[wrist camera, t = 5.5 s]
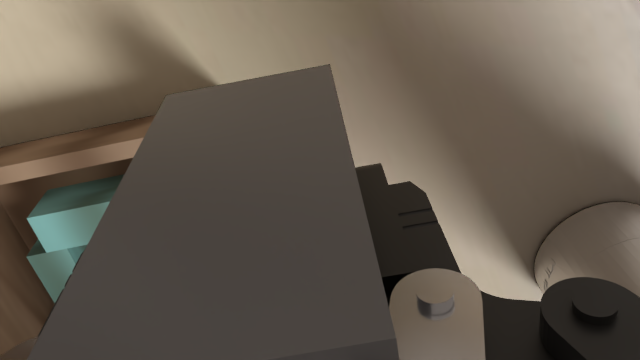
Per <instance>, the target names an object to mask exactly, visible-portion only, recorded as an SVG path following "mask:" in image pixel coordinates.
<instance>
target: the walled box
mask: <svg viewBox="0 0 640 360" xmlns="http://www.w3.org/2000/svg"><path fill="white" fill-rule="evenodd" d="M155 116H156V115H153V116H149V117H144V118H139V119H134V120H130V121H125V122H120V123H115V124H111V125H106V126H101V127H96V128H91V129H87V130H82V131H77V132H72V133H68V134H63V135H58V136H53V137H48V138H44V139H39V140H34V141H29V142H25V143H20V144H15V145H10V146H5V147H1V148H0V357H1V356H2V355H3V354H4V353H6V352H7V351H8V350H10V349H11V348H13V347H15V346H16V345H18V344H20V343H22V342H24V341H27V340H29V339H32V338H35V337H37V336H38V334H39V333H40V331H41V329H42V327H43V325H44V323H45V321H46V319H47V318H48V316H49V314H50V312H51V310H52V308H53V306H54V304H55V302H56V301H57V299H58V297H59V295H60V293H61V291H62V289H64V288H65V286H64V285H65V284H66V282H67V280H68V278H69V276H70V275H71V274H72V273H73V272H72V270H73V269H74V267H75V265H76V263H77V261H78V259H79V257H80V255H81V254H82V253H83V252H84V250H85V249H86V247H87V245H88V243H89V241H90V239H91V237H92V235H93V233H94V231H95V230H96V228H97V226H98V224H99V222H100V220H101V218H102V216H103V214H104V212H105V211H106V209H107V207H108V205H109V203H110V201H111V199H112V197H113V195H114V193H115V192H116V190H117V188H118V186H119V184H120V182H121V180H122V178H123V176H124V174H125V173H126V171H127V169H128V167H129V165H130V163H131V161H132V159H133V157H134V155H135V154H136V152H137V150H138V148H139V146H140V144H141V142H142V140H143V138H144V136H145V135H146V133H147V131H148V129H149V127H150V125H151V123H152V121H153V119H154V117H155Z"/></svg>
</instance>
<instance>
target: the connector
mask: <svg viewBox="0 0 640 360" xmlns="http://www.w3.org/2000/svg"><path fill="white" fill-rule="evenodd" d="M27 360H399V354H398V347H397V340H396V335H395V331H394V327H393V323H392V319H391V314H390V310H389V306H388V302H387V298H386V294H385V290H384V286H383V281H382V277H381V273H380V269H379V265H378V261H377V257H376V253H375V248H374V244H373V240H372V236H371V232H370V228H369V224H368V220H367V216H366V211H365V207H364V203H363V199H362V195H361V191H360V187H359V183H358V178H357V174H356V170H355V166H354V162H353V158H352V154H351V150H350V145H349V141H348V137H347V133H346V129H345V125H344V121H343V117H342V113H341V108H340V104H339V100H338V96H337V92H336V88H335V84H334V80H333V75H332V71H331V67H330V64H328V65H323V66H317V67H312V68H307V69H301V70H296V71H291V72H286V73H280V74H275V75H270V76H264V77H259V78H254V79H249V80H243V81H238V82H233V83H227V84H222V85H217V86H212V87H206V88H201V89H196V90H190V91H185V92H180V93H175V94H169V95H166V97H165V98H164V100H163V102H162V104H161V106H160V108H159V110H158V112H157V114H156V116H155V117H154V119H153V121H152V123H151V125H150V127H149V129H148V131H147V133H146V135H145V136H144V138H143V140H142V142H141V144H140V146H139V148H138V150H137V152H136V154H135V155H134V157H133V159H132V161H131V163H130V165H129V167H128V169H127V171H126V173H125V174H124V176H123V178H122V180H121V182H120V184H119V186H118V188H117V190H116V192H115V193H114V195H113V197H112V199H111V201H110V203H109V205H108V207H107V209H106V211H105V212H104V214H103V216H102V218H101V220H100V222H99V224H98V226H97V228H96V230H95V231H94V233H93V235H92V237H91V239H90V241H89V243H88V245H87V247H86V249H85V250H84V252H83V254H82V256H81V258H80V260H79V262H78V264H77V266H76V268H75V269H74V271H73V273H72V275H71V277H70V279H69V281H68V283H67V285H66V287H65V288H64V290H63V292H62V294H61V296H60V298H59V300H58V302H57V304H56V306H55V307H54V309H53V311H52V313H51V315H50V317H49V319H48V321H47V323H46V325H45V326H44V328H43V330H42V332H41V334H40V336H39V338H38V340H37V342H36V344H35V345H34V347H33V349H32V351H31V353H30V355H29V357H28V359H27Z"/></svg>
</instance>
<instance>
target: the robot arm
mask: <svg viewBox="0 0 640 360" xmlns="http://www.w3.org/2000/svg"><path fill="white" fill-rule="evenodd" d="M355 170H356V174H357V178H358V183H359V187H360V191H361V195H362V199H363V203H364V207H365V211H366V216H367V220H368V224H369V228H370V232H371V236H372V240H373V244H374V248H375V253H376V257H377V261H378V265H379V269H380V273H381V277H382V281H383V286H384V290H385V294H386V298H387V302H388V306H389V310H390V314H391V319H392V323H393V327H394V331H395V335H396V340H397V347H398V354H399V360H640V205H638V204H633V203H627V202H610V203H605V204H599V205H595V206H593V207H590V208H587V209H584V210H582V211H580V212H578V213H576V214H574V215H572V216H571V217H569V218H567V219H566V220H565V221H563V222H562V223H561V224H559V225H558V226H557V227H556V228H555V229H554V230H553V231H552V232H551V233H550V234H549V235H548V236H547V238H546V239H545V241H544V242H543V244H542V245H541V247H540V249H539V251H538V254H537V256H536V259H535V266H534V272H535V279H536V281H537V283H538V285H539V287H540V289H541V291H542V292H543V297H542V299H541V302H539V301H526V300H512V299H504V298H500V297H495V296H492V295H489V294H486V293H484V292H482V291H480V290H479V288H478V287H477V285H476V284H475V283H474V282H473V281H472V280H471V279H469V278H468V277H466V276H465V275H463V274H461V272H460V270H459V268H458V265H457V263H456V261H455V258H454V256H453V254H452V252H451V249H450V247H449V245H448V243H447V240H446V238H445V236H444V234H443V231H442V229H441V227H440V225H439V224H438V220H437V218H436V216H435V213H434V211H433V210H432V206H431V204H430V202H429V200H428V197H427V195H426V193H425V192H424V191H422V190H421V189H420V188H418V187H417V186H415V185H414V184H413V183H411V182H410V181H409V182H403V183H398V184H392V185H388V183H387V180H386V177H385V174H384V171H383V168H382V165H381V163H379V164H373V165H368V166H362V167H357V168H355ZM82 254H83V253H82ZM82 254H81V255H80V257H79V259H78V261H77V263H76V265H75V267H74V269H75V268H76V266H77V264H78V262H79V260H80V258H81V256H82ZM74 269H73V270H72V272H73V271H74ZM71 275H72V274H71ZM71 275H70V276H69V278H68V280H67V282H66V284H65V285H64V286H65V287H66V285H67V283H68V281H69V279H70V277H71ZM63 290H64V289H62V291H61V293H60V295H59V297H58V299H57V301H56V302H55V304H54V306H53V308H52V310H51V312H50V314H49V316H48V318H47V319H46V321H45V323H44V325H43V327H42V329H41V331H40V333H39V334H38V336H37V337H35V338H32V339H29V340H27V341H24V342H22V343H20V344H18V345H16V346H15V347H13V348H11V349H10V350H8V351H7V352H6V353H4V354H3V355H2V356H1V357H0V360H27V359H28V357H29V355H30V353H31V351H32V349H33V347H34V345H35V344H36V342H37V340H38V338H39V336H40V334H41V332H42V330H43V328H44V326H45V325H46V323H47V321H48V319H49V317H50V315H51V313H52V311H53V309H54V307H55V306H56V304H57V302H58V300H59V298H60V296H61V294H62V292H63Z"/></svg>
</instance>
